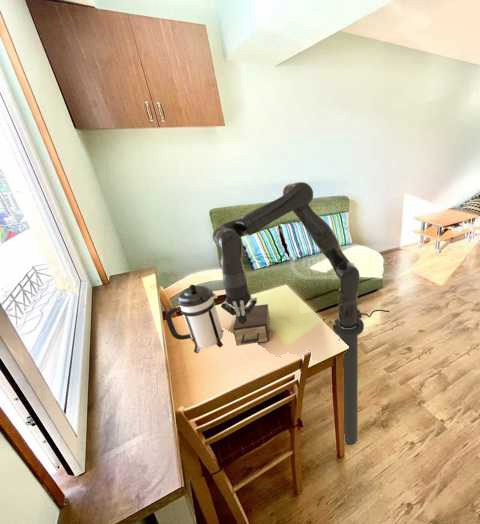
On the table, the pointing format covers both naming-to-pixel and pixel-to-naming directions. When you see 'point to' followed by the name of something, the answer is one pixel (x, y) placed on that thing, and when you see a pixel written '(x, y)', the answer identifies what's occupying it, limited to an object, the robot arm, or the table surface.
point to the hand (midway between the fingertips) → (243, 322)
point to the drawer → (251, 335)
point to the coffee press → (198, 317)
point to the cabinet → (255, 319)
